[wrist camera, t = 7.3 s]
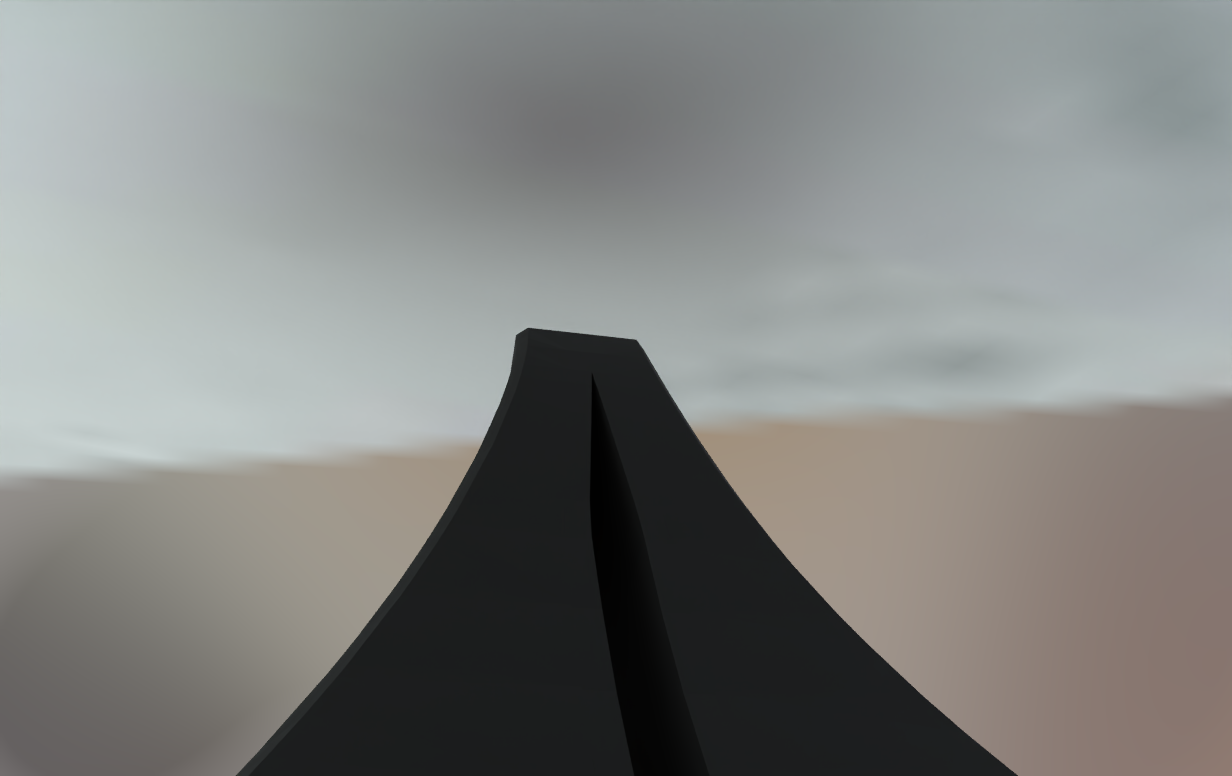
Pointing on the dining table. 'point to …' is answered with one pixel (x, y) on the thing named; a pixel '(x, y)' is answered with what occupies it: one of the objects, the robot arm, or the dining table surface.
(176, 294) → the dining table surface
